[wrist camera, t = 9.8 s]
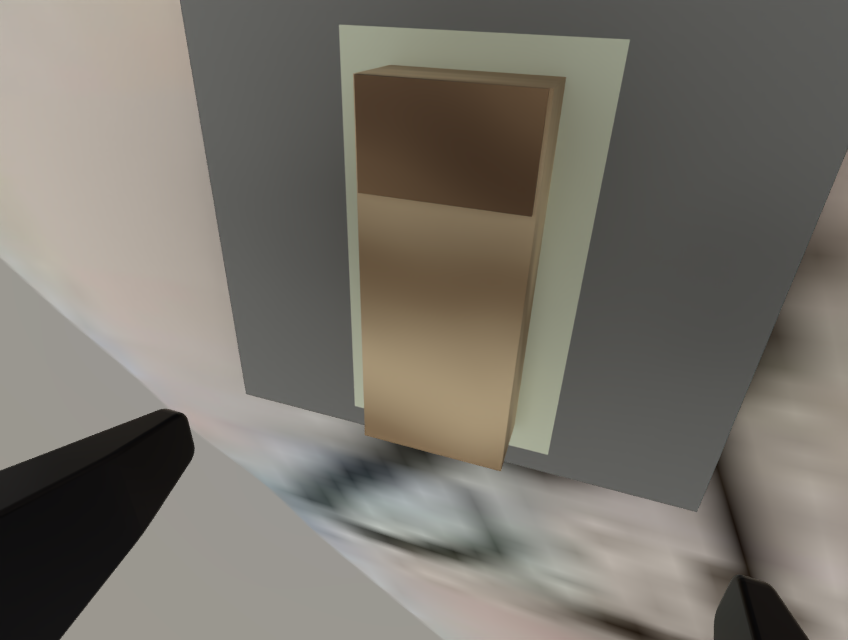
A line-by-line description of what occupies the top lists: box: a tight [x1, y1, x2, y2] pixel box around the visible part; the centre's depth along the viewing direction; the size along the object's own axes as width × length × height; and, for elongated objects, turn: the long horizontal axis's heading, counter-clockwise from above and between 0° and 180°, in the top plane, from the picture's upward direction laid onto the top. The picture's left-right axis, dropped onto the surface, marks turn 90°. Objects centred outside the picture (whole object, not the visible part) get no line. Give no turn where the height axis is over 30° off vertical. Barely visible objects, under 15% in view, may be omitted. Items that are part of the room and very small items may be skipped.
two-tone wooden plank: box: [353, 65, 566, 471], centre depth 17 cm, size 12×5×3 cm, turn 178°
